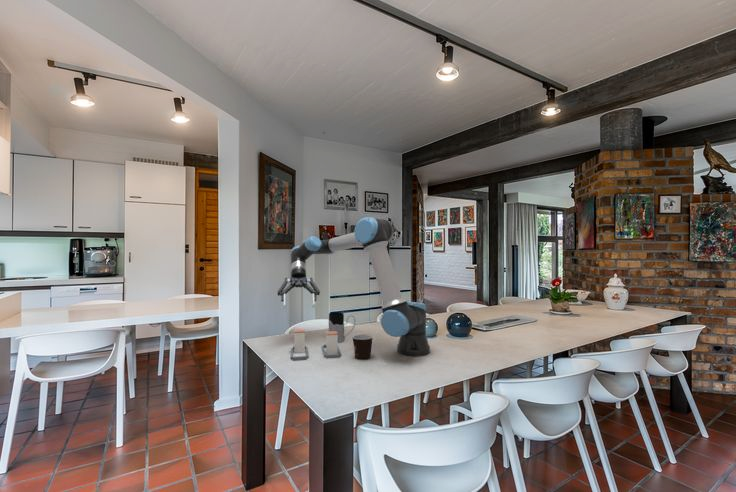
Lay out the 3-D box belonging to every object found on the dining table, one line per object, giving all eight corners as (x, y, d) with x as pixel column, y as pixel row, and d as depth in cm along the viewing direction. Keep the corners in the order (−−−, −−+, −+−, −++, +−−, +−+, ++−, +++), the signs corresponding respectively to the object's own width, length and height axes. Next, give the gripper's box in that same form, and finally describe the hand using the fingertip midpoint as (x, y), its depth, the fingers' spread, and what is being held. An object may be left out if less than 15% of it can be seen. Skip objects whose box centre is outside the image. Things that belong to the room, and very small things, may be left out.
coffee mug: (370, 364, 144) (370, 340, 144) (350, 362, 146) (350, 338, 146) (375, 355, 156) (375, 333, 156) (356, 354, 158) (356, 332, 158)
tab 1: (294, 350, 160) (294, 329, 160) (304, 349, 160) (304, 329, 161) (294, 353, 156) (294, 331, 156) (305, 352, 156) (305, 331, 157)
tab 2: (326, 353, 156) (326, 331, 156) (336, 352, 157) (336, 331, 157) (326, 355, 152) (326, 333, 152) (337, 355, 152) (337, 333, 153)
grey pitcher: (326, 341, 179) (326, 312, 179) (353, 340, 182) (353, 311, 182) (328, 346, 170) (328, 315, 171) (357, 344, 174) (357, 314, 174)
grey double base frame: (290, 351, 162) (290, 346, 162) (337, 348, 167) (337, 343, 167) (290, 364, 144) (290, 358, 144) (342, 360, 149) (342, 354, 149)
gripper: (322, 276, 184) (324, 310, 169) (273, 276, 178) (271, 311, 163) (323, 267, 179) (326, 301, 164) (273, 266, 173) (271, 302, 158)
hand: (299, 306), depth 164 cm, fingers open, 13 cm apart
